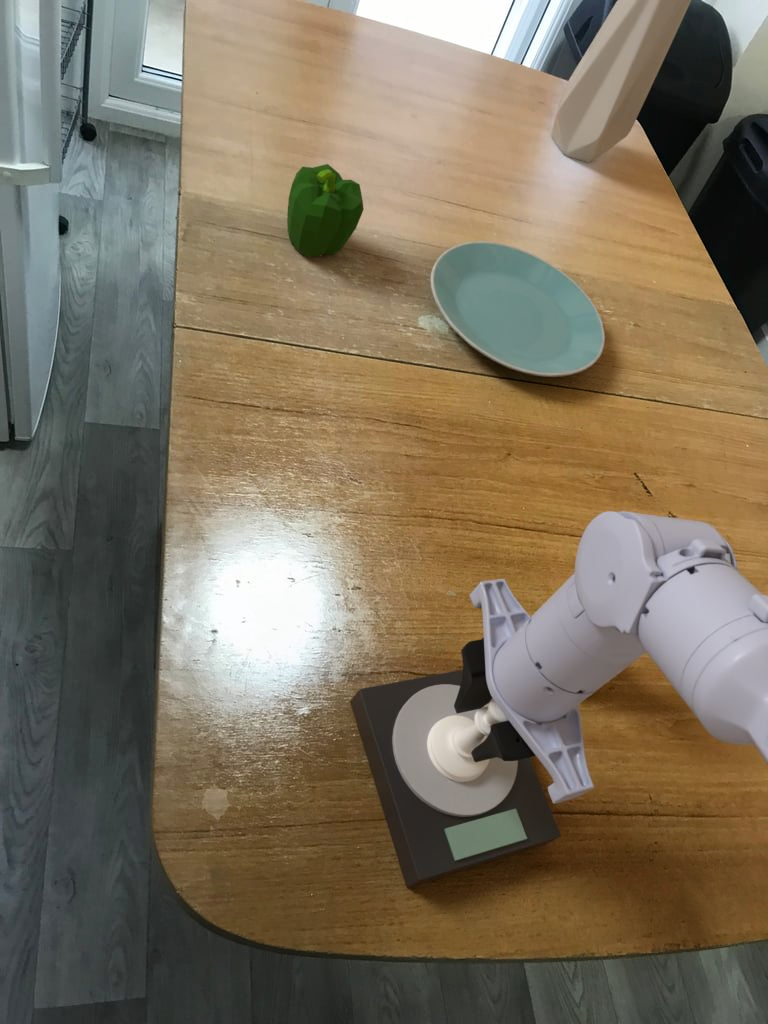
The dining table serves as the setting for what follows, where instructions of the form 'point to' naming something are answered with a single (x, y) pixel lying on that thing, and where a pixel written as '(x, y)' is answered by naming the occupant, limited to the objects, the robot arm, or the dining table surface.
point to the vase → (615, 76)
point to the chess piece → (461, 742)
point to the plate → (517, 309)
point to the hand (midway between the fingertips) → (475, 730)
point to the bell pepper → (322, 210)
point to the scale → (444, 785)
